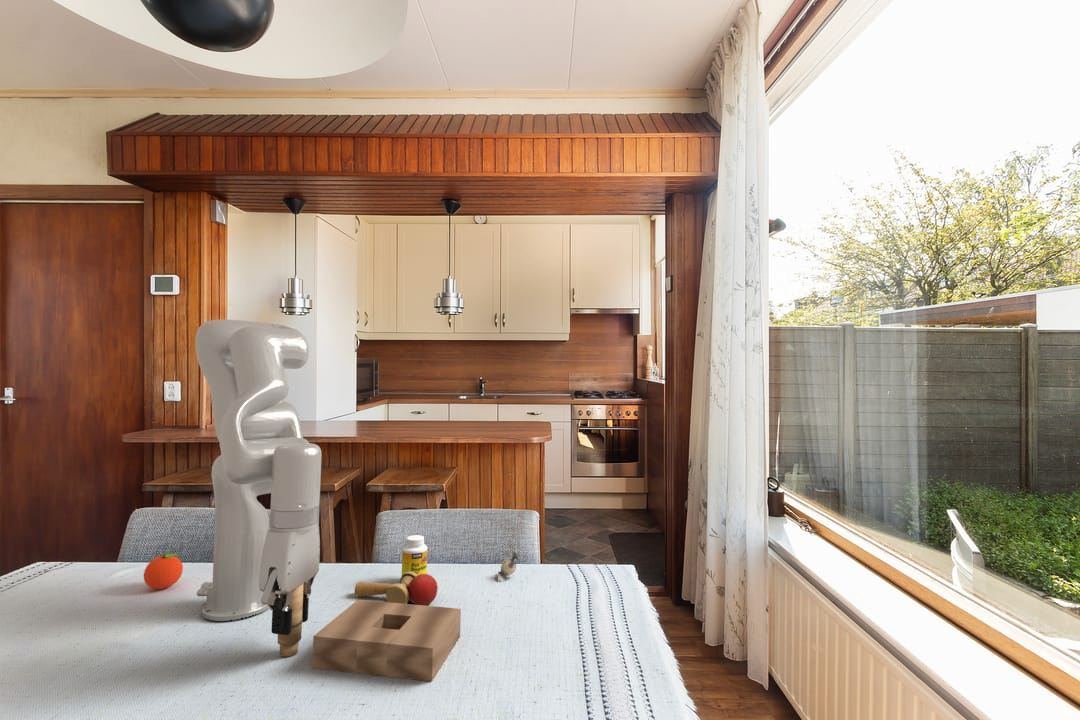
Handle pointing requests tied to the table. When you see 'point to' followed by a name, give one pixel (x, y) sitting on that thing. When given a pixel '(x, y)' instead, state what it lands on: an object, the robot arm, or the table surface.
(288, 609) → the robot arm
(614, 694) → the table surface
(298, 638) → the oak peg
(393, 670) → the seat board
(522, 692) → the table surface
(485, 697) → the table surface
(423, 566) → the supplement bottle
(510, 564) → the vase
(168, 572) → the clementine
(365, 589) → the kendama
